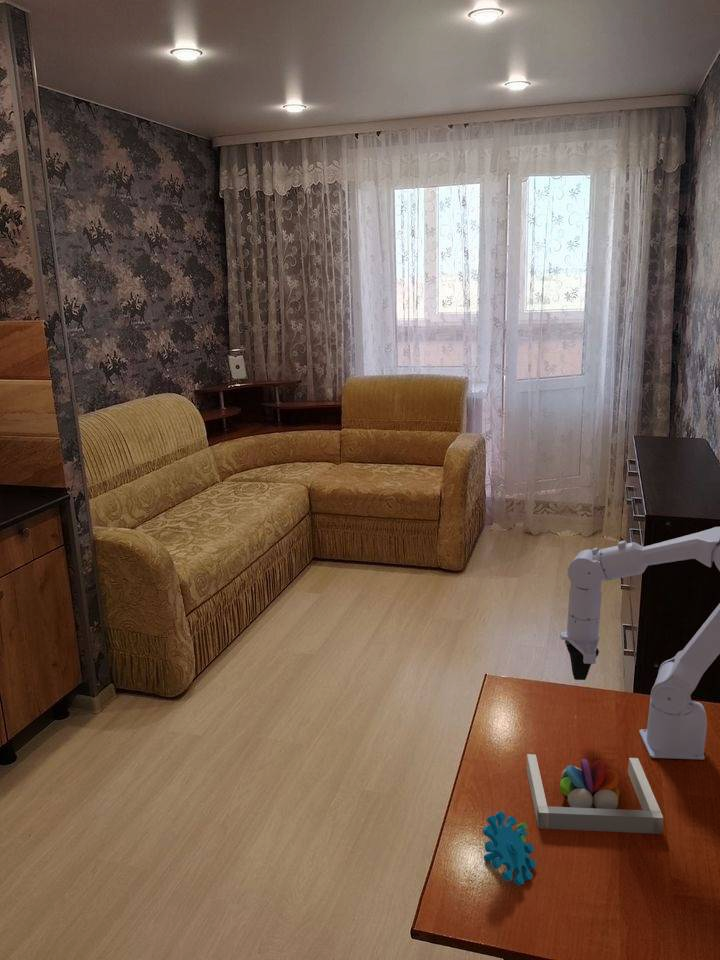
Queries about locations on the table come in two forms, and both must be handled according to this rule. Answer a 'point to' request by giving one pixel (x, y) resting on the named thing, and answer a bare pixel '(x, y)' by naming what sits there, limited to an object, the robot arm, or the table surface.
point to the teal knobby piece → (509, 848)
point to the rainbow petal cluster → (590, 786)
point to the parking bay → (594, 817)
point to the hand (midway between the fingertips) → (579, 678)
